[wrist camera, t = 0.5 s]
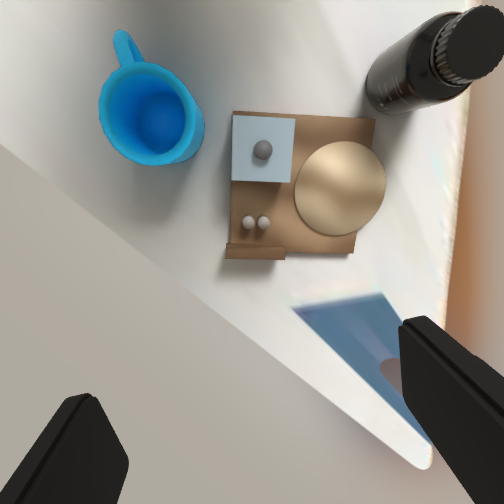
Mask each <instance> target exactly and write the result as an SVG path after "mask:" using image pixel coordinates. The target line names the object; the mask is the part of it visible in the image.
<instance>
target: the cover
mask: <svg viewBox="0 0 504 504" xmlns="http://www.w3.org/2000/svg"><path fill="white" fill-rule="evenodd" d="M294 129H295V119H292V118H275V117H258V116H240V115H233V131H232V177H231V180H238V181H263V182H287V183H290V177H291V165H292V153H293V141H294Z"/></svg>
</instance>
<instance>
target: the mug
mask: <svg viewBox="0 0 504 504" xmlns="http://www.w3.org/2000/svg"><path fill="white" fill-rule="evenodd" d="M113 43H114V47H115V51H116V54H117V57H118V60H119V63H120V65H121V68H119V69H118V70H116V71H115V72H113V73H112V74H111V75H110V77H109V78H108V80H107V81H106V82H105V84H104V85H103V88H102V92H101V95H100V99H99V118H100V121H101V124H102V127H103V130H104V133H105V135H106V136H107V138H108V139H109V141H110V142H111V144H112V145H113V147H114V148H115V149H116V150H118V151H119V152H120V153H121V154H122V155H123V156H125V157H126V158H128V159H130V160H132V161H134V162H137V163H139V164H143V165H151V166H158V165H167V164H174V163H179V162H183V161H185V160H187V159H189V158H190V157H192V156H193V155H194V154H195V153H196V151H197V150H198V149H199V148H200V145H201V143H202V140H203V138H204V127H205V124H204V120H203V116H202V112H201V110H200V108H199V107H198V105H197V103H196V101H195V100H194V98H193V97H192V95H191V94H190V93H189V91H188V90H187V88H186V87H185V85H184V84H183V83H182V82H181V81H180V80H179V79H178V78H177V77H176V76H175V75H174V74H173V73H172V72H171V71H169V70H167V69H165V68H163V67H161V66H159V65H157V64H153V63H147V62H145V61H144V59H143V57H142V55H141V53H140V51H139V49H138V47H137V46H136V44H135V42H134V41H133V39H132V38H131V36H130V35H129V34H128V33H127V32H126V31H124V30H117V31H116V32H115V33H114V37H113Z"/></svg>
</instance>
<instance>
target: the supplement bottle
mask: <svg viewBox="0 0 504 504" xmlns="http://www.w3.org/2000/svg"><path fill="white" fill-rule="evenodd" d="M503 55H504V15H503V13H502V12H500V11H499V9H497V8H494V7H493V6H488V5H485V6H482V5H480V6H478V7H473V8H471V9H469V10H468V11H465V12H464V13H462V12H456V11H451V12H445V13H441V14H438V15H436V16H434V17H433V18H431V19H429V20H428V21H426V22H425V23H423V24H422V25H420V26H419V27H418V28H416V29H415V30H413V31H412V32H411V33H409V34H408V35H406V36H405V37H403V38H402V39H401V40H399V41H398V42H396V43H395V44H394V45H392V46H391V47H389V48H388V49H387V50H385V51H384V52H383V53H382V54H381V55H380V56H379V57H378V58H377V59H376V60H375V62H374V63H373V65H372V67H371V69H370V71H369V74H368V78H367V93H368V97H369V99H370V101H371V103H372V105H373V106H374V107H375V108H376V109H377V110H379V111H380V112H382V113H385V114H391V115H394V114H400V113H405V112H409V111H413V110H417V109H421V108H425V107H429V106H433V105H437V104H441V103H444V102H447V101H450V100H452V99H454V98H456V97H457V96H459V95H460V94H462V93H463V92H464V91H465V90H466V89H467V88H468V87H469V86H470V85H471V84H472V82H473V81H475V80H478V79H480V78H482V77H484V76H486V75H487V74H488V73H490V72H492V71H493V69H494V68H495V67H497V65H498V64H499V62H500V61H501V60H502V57H503Z"/></svg>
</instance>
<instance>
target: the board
mask: <svg viewBox="0 0 504 504" xmlns="http://www.w3.org/2000/svg"><path fill="white" fill-rule="evenodd" d="M233 115H240V116H258V117H275V118H292V119H295V129H294V141H293V153H292V165H291V177H290V183H287V182H263V181H238V180H232V185H231V231H230V243H226V257H225V259H268V260H285V255H286V252H309V253H352V254H353V252H354V246H355V240H356V234H357V230H358V229H359V228H361V227H363V226H364V225H365V224H367V223H368V222H369V221H370V220H371V219H372V218H373V216H374V215H375V214H376V212H377V211H378V209H379V207H380V206H381V203H382V201H383V198H384V194H385V188H386V179H385V173H384V169H383V166H382V164H381V162H380V160H379V159H378V157H377V156H376V155H375V154H374V153H373V152H372V151H371V150H370V148H371V142H372V136H373V130H374V124H375V119H365V118H347V117H330V116H313V115H296V114H279V113H262V112H245V111H233Z"/></svg>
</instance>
